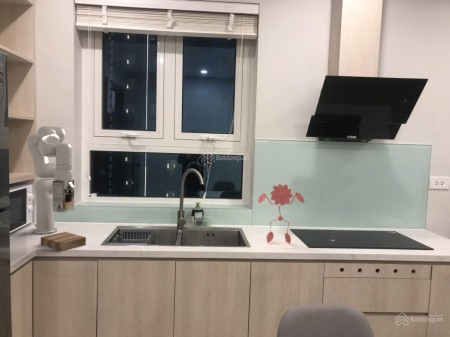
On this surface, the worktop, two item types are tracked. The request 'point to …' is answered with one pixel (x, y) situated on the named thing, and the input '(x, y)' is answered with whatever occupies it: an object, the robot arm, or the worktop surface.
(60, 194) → the coffee box
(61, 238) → the board
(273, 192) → the pink flower figurine
